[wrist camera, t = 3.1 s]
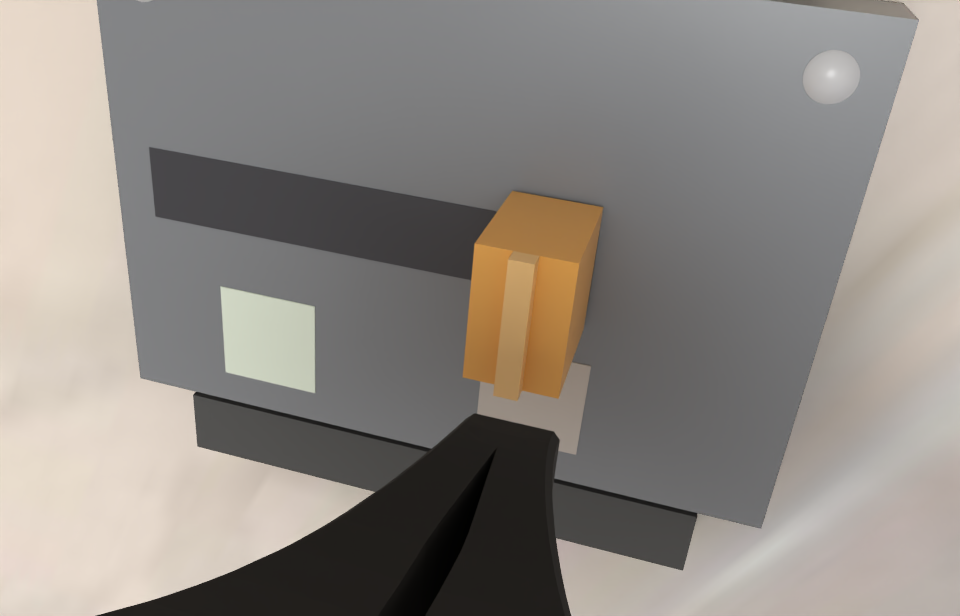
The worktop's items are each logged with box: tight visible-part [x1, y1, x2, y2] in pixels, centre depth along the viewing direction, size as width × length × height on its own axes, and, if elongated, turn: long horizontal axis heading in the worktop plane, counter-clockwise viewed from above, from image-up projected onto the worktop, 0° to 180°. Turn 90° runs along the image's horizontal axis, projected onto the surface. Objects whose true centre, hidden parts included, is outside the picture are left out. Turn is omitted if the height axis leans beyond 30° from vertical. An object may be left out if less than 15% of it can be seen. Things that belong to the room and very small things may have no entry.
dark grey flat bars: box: [193, 392, 697, 570], centre depth 21 cm, size 16×14×2 cm
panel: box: [97, 0, 919, 528], centre depth 21 cm, size 12×17×2 cm
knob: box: [463, 191, 603, 401], centre depth 18 cm, size 3×2×3 cm, turn 175°
